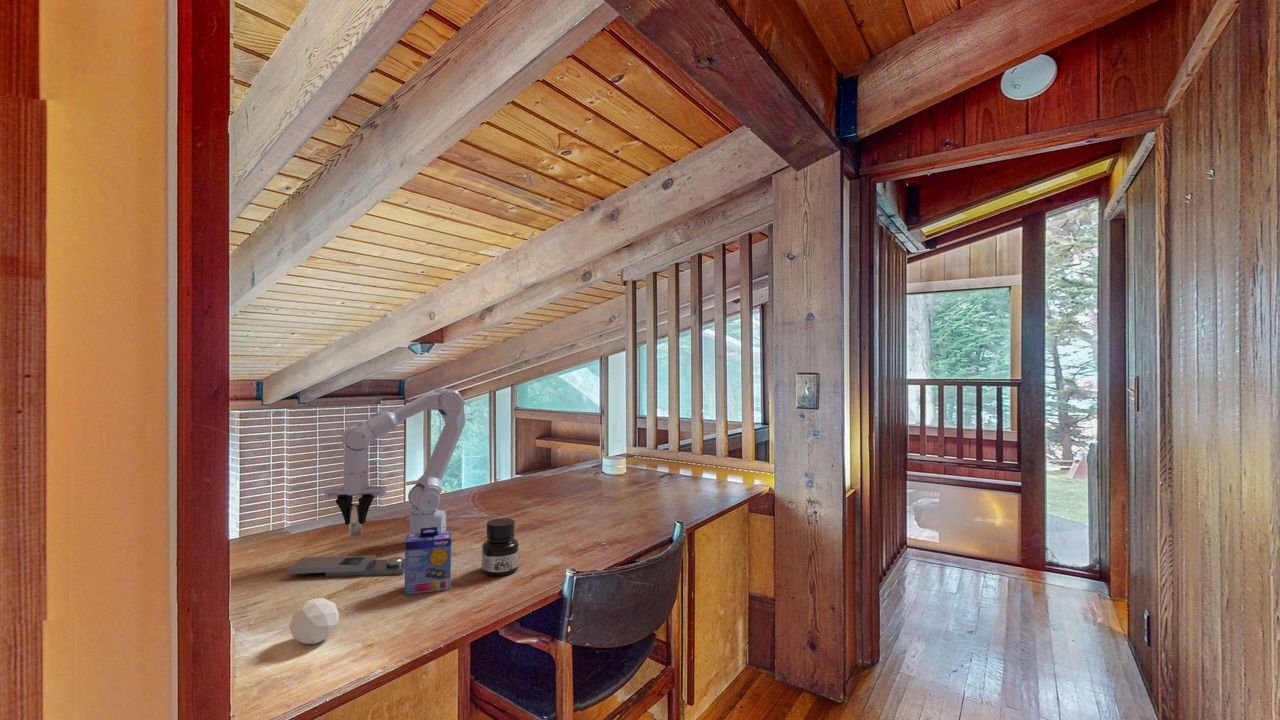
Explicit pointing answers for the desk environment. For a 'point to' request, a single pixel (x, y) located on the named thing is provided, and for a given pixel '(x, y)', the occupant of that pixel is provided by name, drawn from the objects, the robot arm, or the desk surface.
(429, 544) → the ink cartridge box
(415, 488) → the robot arm
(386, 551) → the desk surface
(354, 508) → the steel pin
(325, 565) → the end link upper
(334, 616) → the ball
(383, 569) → the end link lower
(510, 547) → the ink bottle
